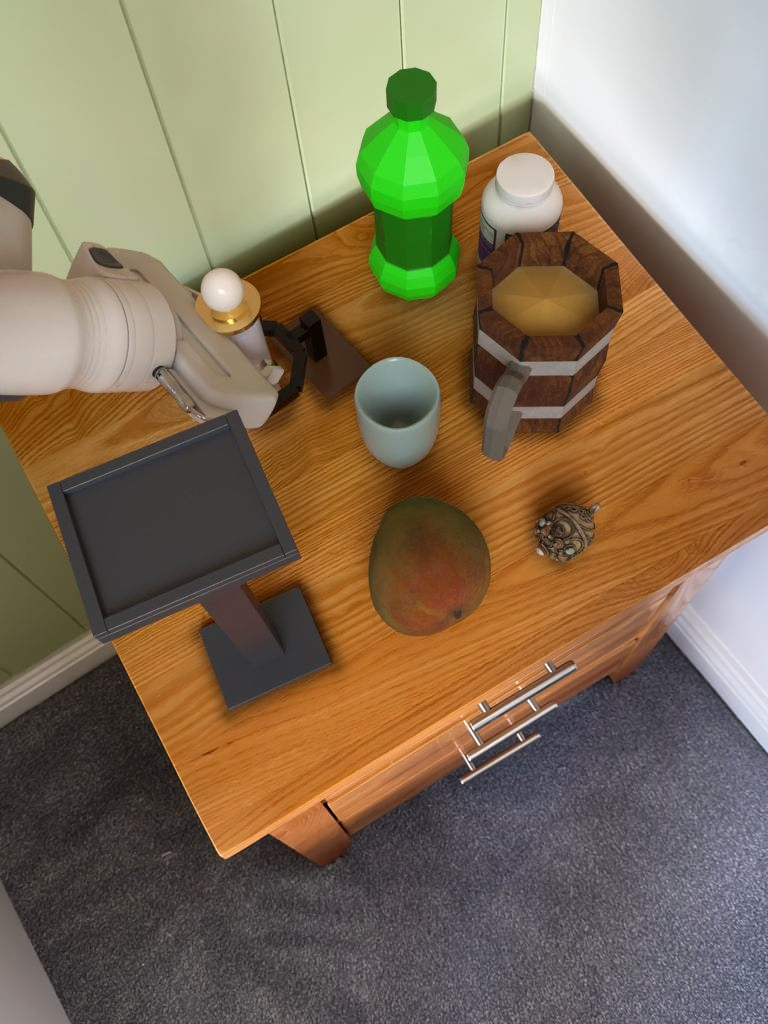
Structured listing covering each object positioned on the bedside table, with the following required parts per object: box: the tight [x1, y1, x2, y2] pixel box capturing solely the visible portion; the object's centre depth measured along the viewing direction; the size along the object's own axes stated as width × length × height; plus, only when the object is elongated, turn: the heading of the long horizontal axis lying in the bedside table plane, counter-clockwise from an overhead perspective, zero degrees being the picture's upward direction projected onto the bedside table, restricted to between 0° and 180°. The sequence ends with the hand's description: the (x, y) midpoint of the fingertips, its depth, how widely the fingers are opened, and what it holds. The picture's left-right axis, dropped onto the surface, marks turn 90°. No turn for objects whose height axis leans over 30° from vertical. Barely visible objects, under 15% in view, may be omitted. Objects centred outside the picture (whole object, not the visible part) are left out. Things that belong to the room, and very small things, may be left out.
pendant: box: [531, 501, 601, 563], centre depth 77 cm, size 5×8×5 cm, turn 129°
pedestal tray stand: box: [46, 410, 333, 712], centre depth 62 cm, size 12×10×32 cm
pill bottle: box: [476, 152, 564, 266], centre depth 85 cm, size 8×8×14 cm
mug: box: [468, 230, 625, 462], centre depth 79 cm, size 20×14×15 cm
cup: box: [353, 356, 442, 469], centre depth 80 cm, size 8×8×10 cm
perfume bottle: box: [195, 267, 282, 392], centre depth 78 cm, size 6×6×20 cm
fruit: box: [367, 495, 492, 637], centre depth 74 cm, size 12×12×10 cm
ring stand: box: [260, 307, 372, 420], centre depth 84 cm, size 16×11×7 cm, turn 129°
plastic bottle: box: [355, 66, 470, 302], centre depth 81 cm, size 10×10×25 cm
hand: (247, 339), depth 78 cm, fingers open, 8 cm apart
